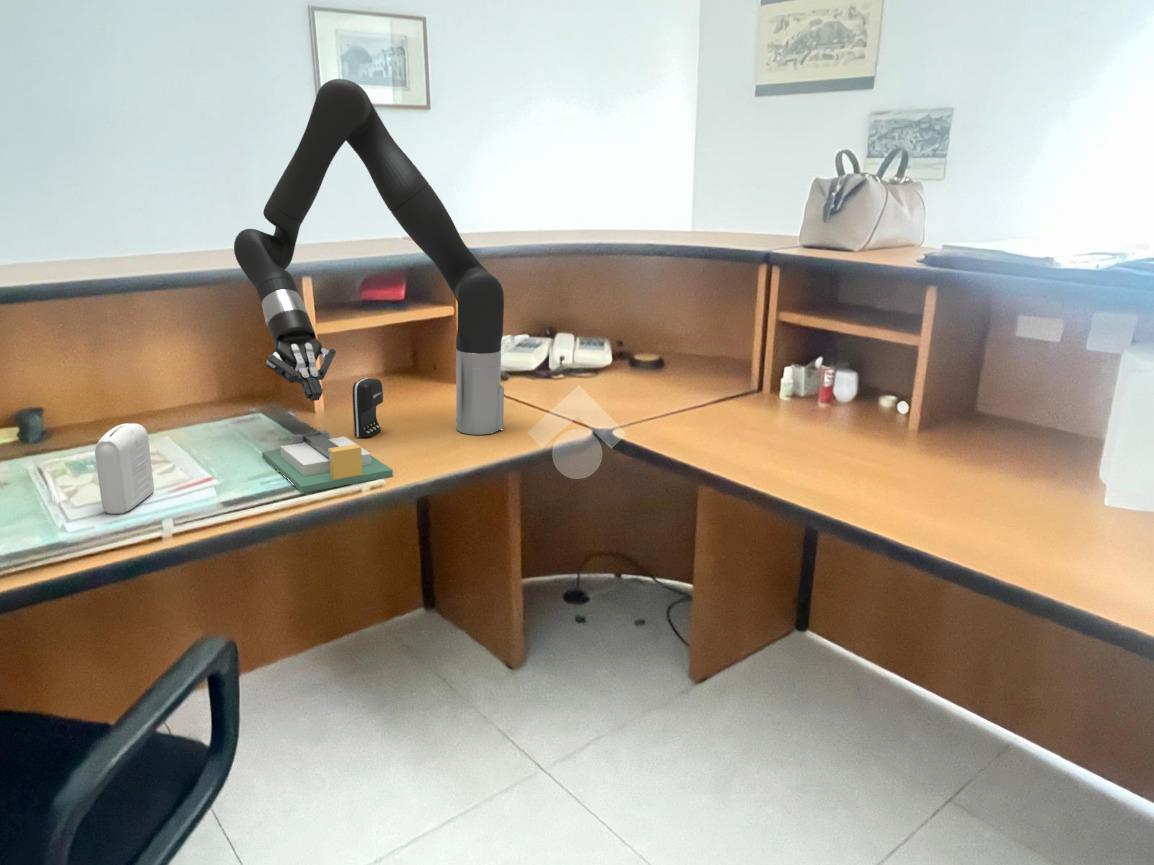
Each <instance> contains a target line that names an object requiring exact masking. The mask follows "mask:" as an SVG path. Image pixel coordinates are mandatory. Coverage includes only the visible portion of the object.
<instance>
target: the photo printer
mask: <svg viewBox="0 0 1154 865" xmlns="http://www.w3.org/2000/svg"><path fill="white" fill-rule="evenodd" d="M94 455H95V463H96V471H97V480H98V486H99V493H100V501H101V507H102V510H103V511H104V512H106V514H112V515H113V514H115V515H117V514H124V513H126V512H129V511H130V510H132V509H134V508H135V507H136V506H138V505H139V504H140V503H141V502H143V501H144V500H145V499H147V498H148V497H149V496H150V495H152V494H153V493H154V490H155V486H154V477H153V468H152V459H151V458H152V457H151V451H150V442H149V434H148V431H147V430H146V428H145V427H144V426H143V425H141V424H139V423H122V424H119V425H116V426H114V427H112V428H111V429H109V430H108V431H107V432H105V434H103V436H102V437H101V438H99V441H98V442H97V443H96V446H95V448H94Z"/></svg>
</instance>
